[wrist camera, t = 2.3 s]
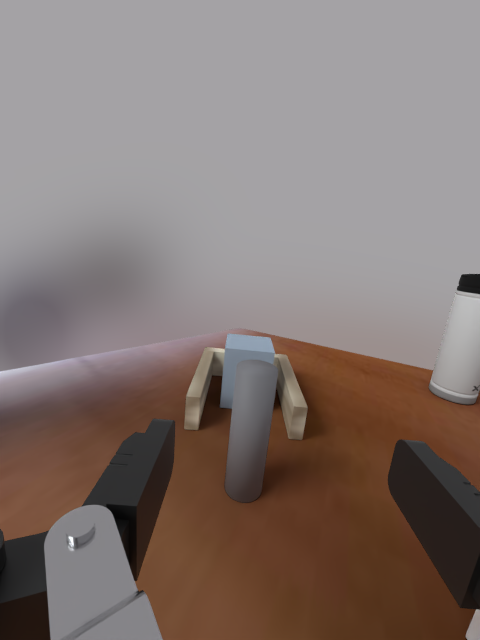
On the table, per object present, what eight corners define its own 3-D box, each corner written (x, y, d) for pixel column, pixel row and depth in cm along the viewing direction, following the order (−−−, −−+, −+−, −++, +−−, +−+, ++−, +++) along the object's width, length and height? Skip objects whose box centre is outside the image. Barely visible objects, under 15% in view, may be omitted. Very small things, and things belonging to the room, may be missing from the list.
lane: (184, 429, 31) (186, 396, 30) (203, 370, 46) (205, 347, 45) (302, 440, 31) (307, 407, 30) (283, 377, 46) (286, 354, 45)
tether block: (205, 499, 23) (216, 372, 20) (223, 385, 42) (229, 312, 39) (280, 505, 23) (300, 380, 20) (263, 389, 42) (273, 317, 39)
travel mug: (486, 409, 42) (532, 274, 37) (435, 399, 44) (473, 269, 39) (467, 391, 48) (505, 272, 43) (423, 382, 50) (455, 267, 45)
